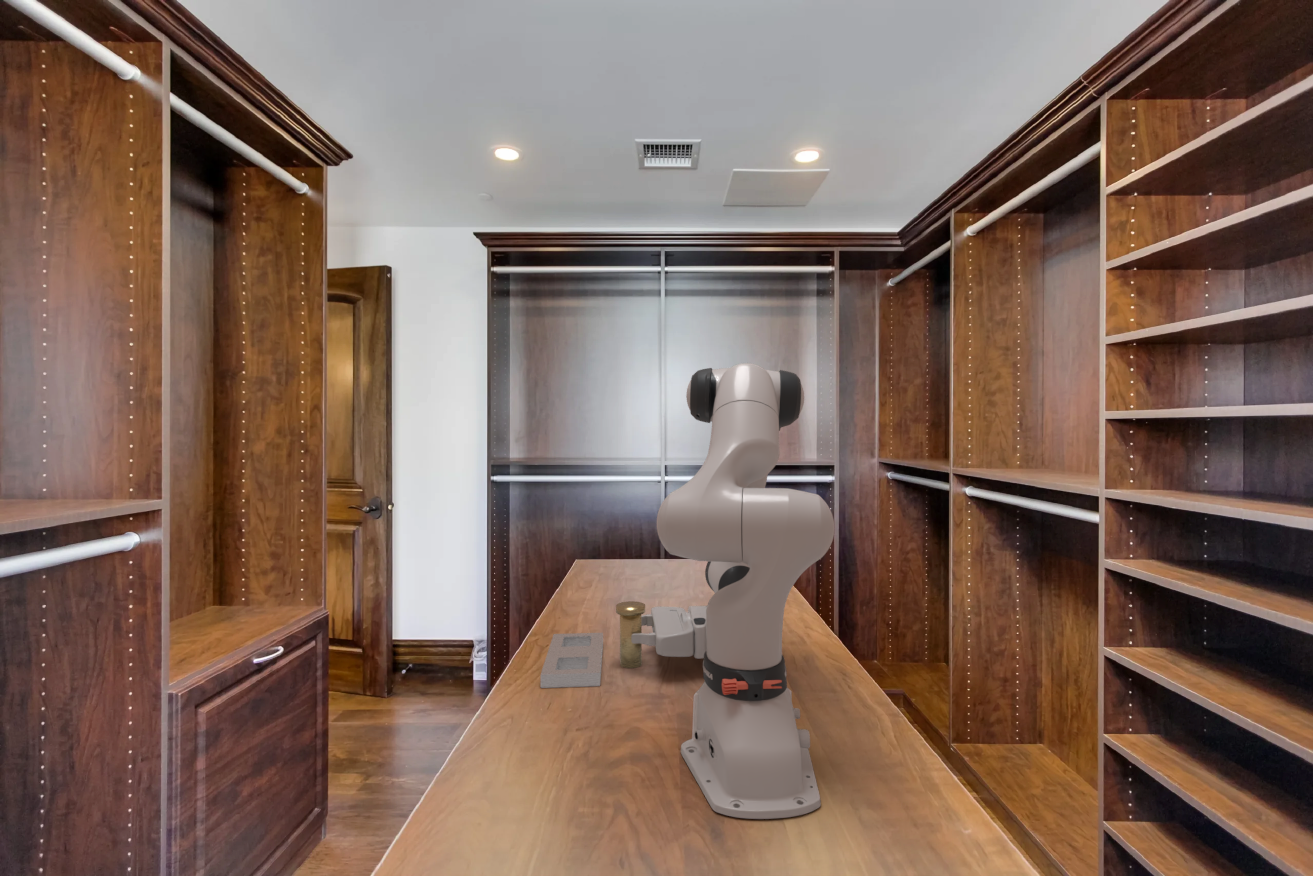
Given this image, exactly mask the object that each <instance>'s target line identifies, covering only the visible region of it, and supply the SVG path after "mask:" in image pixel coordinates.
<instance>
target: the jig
mask: <svg viewBox="0 0 1313 876" xmlns="http://www.w3.org/2000/svg"><path fill="white" fill-rule="evenodd" d="M603 648H604V632H583V633H582V632H581V633H579V632H577V633H572V632H571V633H553V635H552V638H551V641H550V644H549V647H548V650H547V654H546V656H545V660H544V663H543V665H542V669H541V673H540V689H551V688H555V689H557V688H577V687H579V688H583V687H586V688H587V687H600V686H601V677H602V676H601V675H602V663H603Z"/></svg>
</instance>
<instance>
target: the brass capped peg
mask: <svg viewBox="0 0 1313 876" xmlns="http://www.w3.org/2000/svg"><path fill="white" fill-rule="evenodd" d="M615 612H616V614H617V615H619V660H620V661H619V663H620V667H623V668H625V669H636V668H639V667H641V666H642V665H643V664H642V662H643V660H642V659H643V656H642V655H643V653H642V652H643V651H642V647H643V646H642V645H643V644H641V643H636V644H634V643H632V641H631V634H632V632H640V633H643V632H642V626H641V616H642V615H644V614H645V613H646V604H645V603H644V602H640V601H623V602H622V601H621V602H619V603H617V604H616V605H615Z"/></svg>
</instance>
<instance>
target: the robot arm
mask: <svg viewBox="0 0 1313 876" xmlns="http://www.w3.org/2000/svg"><path fill="white" fill-rule="evenodd" d="M685 396H686V403H687V407H688V408H689V412H690V415H691V416H692V417H693V418H694V419H695V420H696V421H698V422H699V421H700V422H703V423H707V424H711V431H710V433H711V434H710V441H709V445H708V446H709V447H708V451H707V456H706V458H705V461H704V462H703V464H702V465H701V467H700V468H699V470H698V471H697V472H696V473H695V474H694V476H692V477H691V478H690V479H689V480H688V481H687V482H686V483H685V484H683V485H682V486H680V487H678V488H677V489H674V491H673V490H672V491H671V492H670V493H669V494H668V495H667V496H666V497H665V498H664V499H663V501H662V503H661V504H660V506H659V508H658V512H657V514H656V516H657V517H656V531H657V535H658V539H659V541H660V542H661V545H662V546H663V548H664V549H665V550H666V552H668V553H669V555H672V556H677V557H680V558H684V559H688V560H692V561H693V560H694V561H697V562H707V563H706V567H705V569H704V570H705V571H704V575H705V576H704V577H705V580H706V584H707V585H708V587H709V588H710V589H711V590H712V592H713V595H712V596H711V597H710V599H709V601H708V603H707V605H689V606H688V608H687V611H686V609H685V608H683V607H680V606H654V607H652V608H651V609H650V613H649V614H642V615H641V627H644V626H646V627H651V628H652V629H651V630H652V632H649V633H643V632H642V633H640V632H632V634H631V641H632V643H634V644H636V643H641V644H642V645H645V646H649V647H655V651H656V654H657V655H659V656H662V657H670V658H671V657H673V658H676V657H677V658H688V657H692V656H693V657H694V658H695V659H697V660H698V659H701V660H702V659H703V661H702V670H703V676H702V677H703V683H702V685H701V686H700V687H699V689H698V690H697V691H696V692H695V693H694V694H693V706H692V729H691V730H692V733H691V734H692V735H691V738H690V739H688V740H685V741H684V742H683V743H682V744H681V746H680V753H681V756H682V758H683V759H684V761H685V764H686V765H687V767H688V769H689V770H690V772H691V774H692V776H693V778H694V780H695V782H697V784H698V786H699V788H700V790H701V792H702V794H703V795H704V796H705V799H706V800H707V802H708V804H709V805H710V808H711V809H712V810H713V811H714V812H716V813H718V814H721V815H724V816H727V817H728V816H729V817H733V818H740V819H750V820H751V819H753V820H764V819H765V820H769V819H771V820H773V819H783V818H791V817H798V816H802V815H805V814H808V813H811V812H814V811H815V810H817V809H819V808H820V807H821V805H822V804H821V803H822V802H821V795H820V792H819V788H818V787H819V786H818V783H817V779H816V775H815V770H814V766H813V762H812V758H811V754H810V751H809V749H810V748H811V737H810V736H811V735H810V731H809V730H808V729H805V728H804V729H803V728H798V726H797V721H796V720H800V719H801V709H800V708H797V707H794V706H793V702H792V694H793V693H792V690H791V689H790V688H788V681H787V674H788V673H787V666H786V661H785V656H784V655H783V625H784V614H785V608H786V605H787V604H786V603H787V600H788V597H789V595H790V593H791V590H792V588H793V586H794V585H795V583H796V582H797V580H798V579H799V578H800V577H801V575H802V574H803V573H804V572H805V571H806V570H807V569H808V568H810V567H811V566H812V565H814V564H815V563H816V562H817V561H819V560H820V559H822V558H823V557H824V556H825V555H826V553H828V551H829V549H830V548H831V545H832V542H833V540H834V537H835V519H834V516H833V513H832V510H831V509H830V507H829V504H827V502H826V500H825V499H823V498H822V497H821V495H819V494H818V493H813V492H809V491H808V492H807V491H804V490H799V489H798V490H797V489H794V488H783V487H782V488H781V487H780V488H779V487H777V488H776V487H766V485H767V481H768V474H769V473H770V472H772V470H774V468H775V467H776V466H777V463H778V462H779V460H780V454H781V452H780V451H781V450H780V431H781V428H784V427H787V426H790V425H792V424H793V423H794V422H796V421H797V420H798V419H799V416H800V414H801V412H802V410H803V407H804V403H805V391H804V387H803V385H802V382H801V379H800V377H799V376H798V375H797V373H794V372H791V371H787V370H783V369H780V370H778V371H776V370H771V369H765V368H764V367H762V366H760V365H758V364H755V363H751V362H743V363H742V362H741V363H738V364H735V365H733V366H730V367H723V368H722V367H721V368H715V369H713V368H712V367H709V368H702V369H699V370H697V371H695V372H694V373H693V374H692V376H691V377H690V381H689V383H688V386H687V388H686V395H685Z"/></svg>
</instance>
